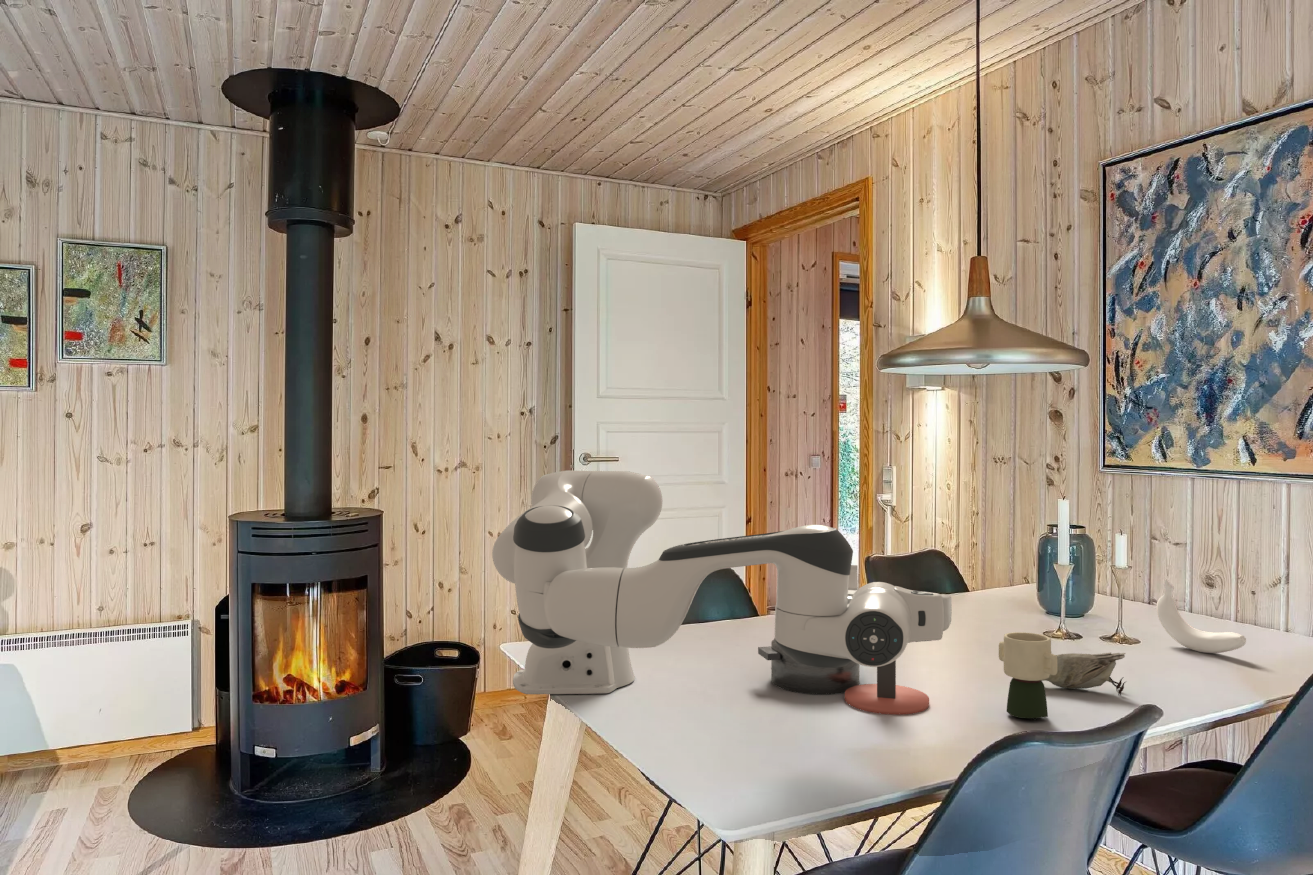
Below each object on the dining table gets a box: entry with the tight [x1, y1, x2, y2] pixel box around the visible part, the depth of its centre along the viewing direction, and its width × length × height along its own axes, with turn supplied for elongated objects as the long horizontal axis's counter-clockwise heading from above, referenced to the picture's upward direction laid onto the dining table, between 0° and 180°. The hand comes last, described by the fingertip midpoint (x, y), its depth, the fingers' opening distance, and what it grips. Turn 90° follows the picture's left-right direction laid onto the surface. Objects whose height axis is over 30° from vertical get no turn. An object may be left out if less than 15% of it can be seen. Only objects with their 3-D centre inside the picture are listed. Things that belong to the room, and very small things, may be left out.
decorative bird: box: [1041, 651, 1128, 696], centre depth 158 cm, size 5×16×7 cm, turn 70°
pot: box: [757, 639, 860, 696], centre depth 163 cm, size 20×16×7 cm
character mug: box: [998, 631, 1057, 721], centre depth 143 cm, size 11×7×13 cm, turn 29°
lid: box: [844, 659, 930, 716], centre depth 151 cm, size 14×14×12 cm
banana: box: [1155, 577, 1247, 654], centre depth 185 cm, size 5×19×15 cm, turn 28°
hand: (883, 597), depth 139 cm, fingers open, 8 cm apart
